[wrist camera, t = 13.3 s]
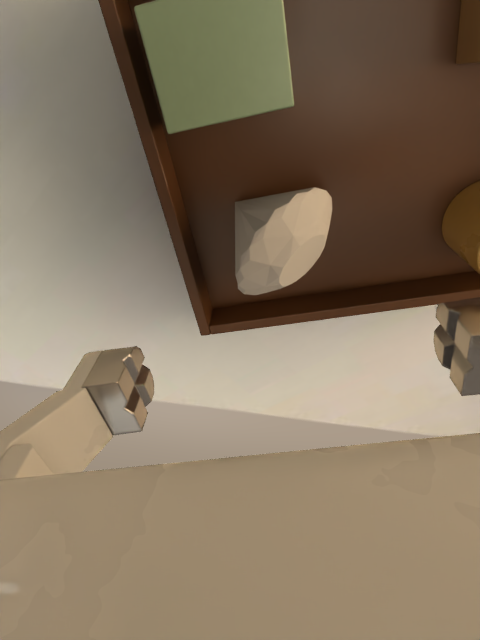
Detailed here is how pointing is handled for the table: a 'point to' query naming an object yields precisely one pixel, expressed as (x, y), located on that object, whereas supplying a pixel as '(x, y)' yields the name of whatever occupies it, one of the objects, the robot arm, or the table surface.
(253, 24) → the sage block
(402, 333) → the table surface
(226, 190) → the tray
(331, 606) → the robot arm
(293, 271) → the gemstone
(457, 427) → the table surface
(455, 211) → the cylinder
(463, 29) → the beech cube
